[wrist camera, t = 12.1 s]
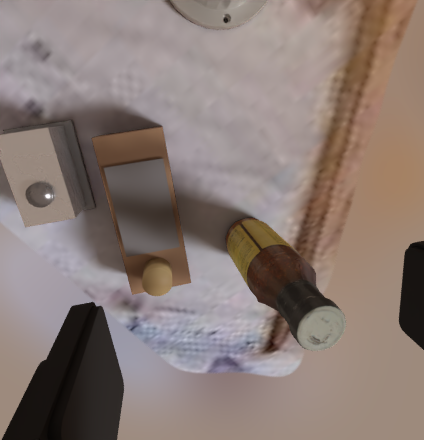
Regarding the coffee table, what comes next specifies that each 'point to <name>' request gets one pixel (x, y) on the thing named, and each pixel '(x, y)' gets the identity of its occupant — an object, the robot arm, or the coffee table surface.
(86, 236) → the coffee table surface
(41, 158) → the grey box with knob
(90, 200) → the rubber mat
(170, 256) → the hand plane
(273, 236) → the sauce bottle
